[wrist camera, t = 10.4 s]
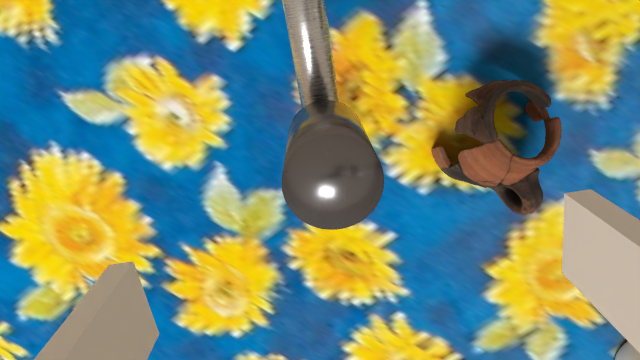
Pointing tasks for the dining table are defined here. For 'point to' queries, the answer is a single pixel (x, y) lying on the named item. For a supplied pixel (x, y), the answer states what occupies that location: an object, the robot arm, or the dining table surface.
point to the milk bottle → (627, 353)
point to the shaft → (325, 133)
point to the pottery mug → (502, 147)
